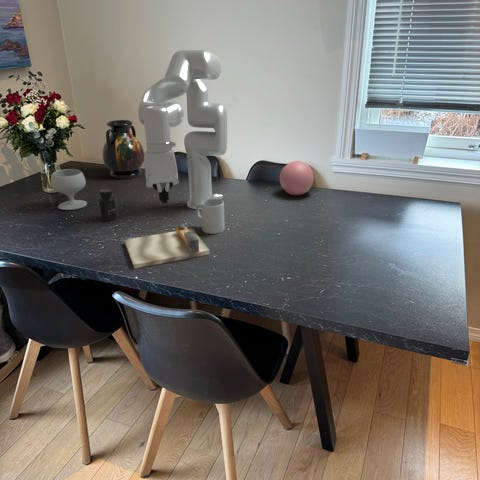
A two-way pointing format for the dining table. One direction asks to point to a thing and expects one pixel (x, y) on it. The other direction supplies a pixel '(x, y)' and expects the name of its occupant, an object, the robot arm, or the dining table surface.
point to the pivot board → (165, 248)
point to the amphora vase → (122, 150)
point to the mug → (211, 215)
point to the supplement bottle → (107, 205)
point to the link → (182, 234)
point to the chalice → (69, 187)
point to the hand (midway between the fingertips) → (164, 202)
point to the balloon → (296, 178)
